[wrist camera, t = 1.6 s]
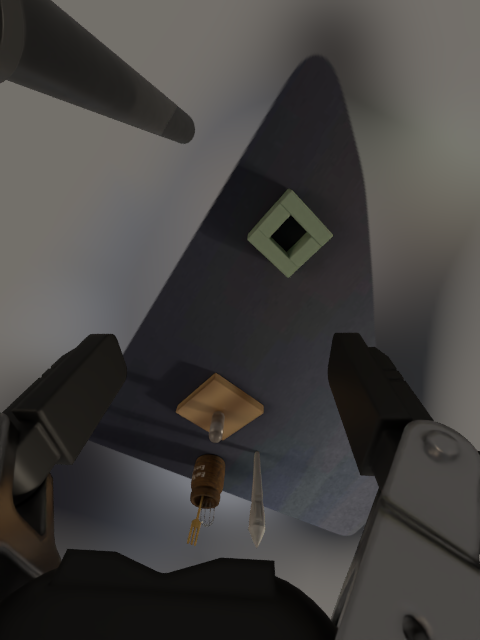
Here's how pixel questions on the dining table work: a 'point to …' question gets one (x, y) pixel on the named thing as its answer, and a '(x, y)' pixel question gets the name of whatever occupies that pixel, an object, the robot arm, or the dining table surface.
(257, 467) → the pen
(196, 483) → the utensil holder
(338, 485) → the dining table surface
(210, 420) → the base pad
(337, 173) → the dining table surface
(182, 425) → the dining table surface
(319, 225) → the green square ring block
